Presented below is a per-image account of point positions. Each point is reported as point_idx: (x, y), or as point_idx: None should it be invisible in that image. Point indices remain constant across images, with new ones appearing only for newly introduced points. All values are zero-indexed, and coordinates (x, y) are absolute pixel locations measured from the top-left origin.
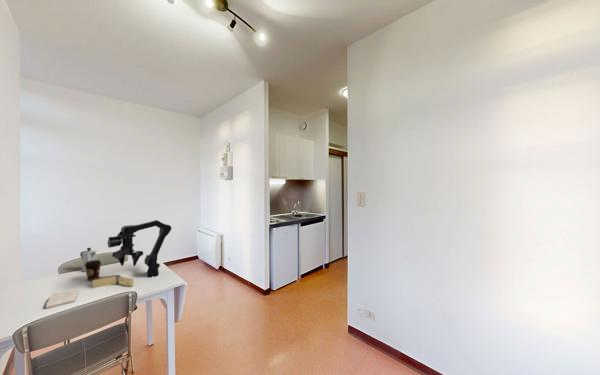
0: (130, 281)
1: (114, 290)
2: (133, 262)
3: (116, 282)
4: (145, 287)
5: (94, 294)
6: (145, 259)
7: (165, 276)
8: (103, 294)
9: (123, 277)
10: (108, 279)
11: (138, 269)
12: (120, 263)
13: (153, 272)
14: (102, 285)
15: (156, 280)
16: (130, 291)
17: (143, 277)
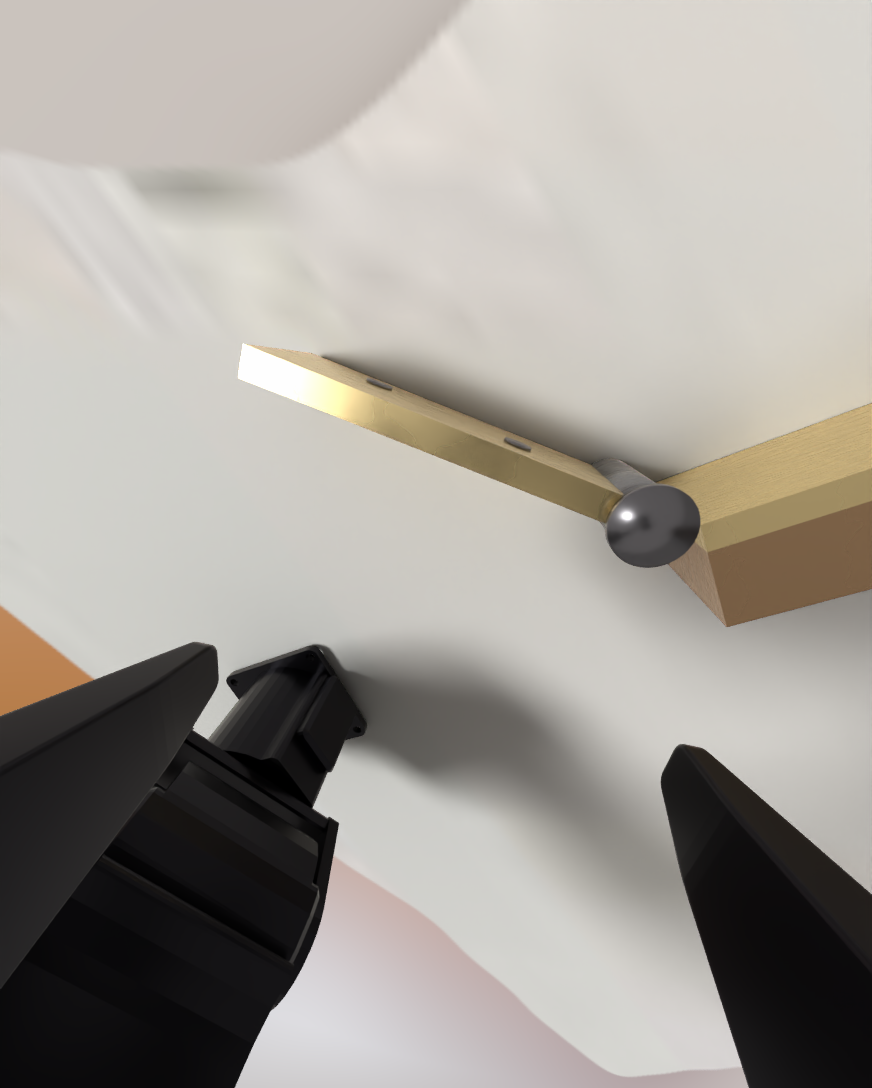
0: (301, 360)
1: (515, 222)
2: (21, 733)
3: (628, 465)
4: (108, 333)
5: (826, 8)
6: (236, 984)
7: (134, 647)
8: (625, 17)
9: (492, 458)
10: (817, 468)
11: (588, 862)
12: (799, 836)
13: (243, 702)
14: (848, 416)
15: (147, 550)
16: (214, 177)
17: (376, 652)
